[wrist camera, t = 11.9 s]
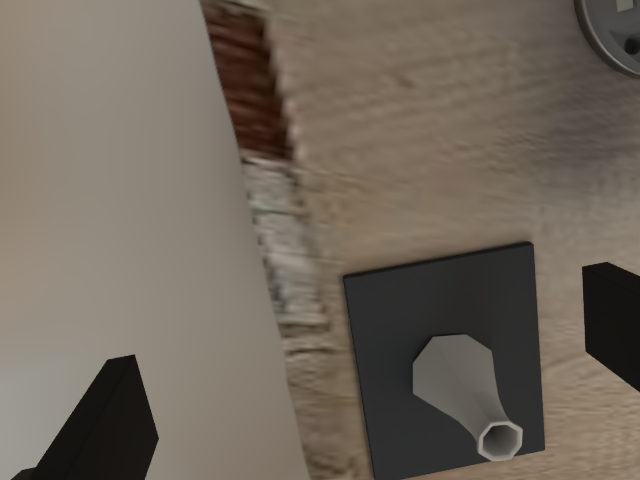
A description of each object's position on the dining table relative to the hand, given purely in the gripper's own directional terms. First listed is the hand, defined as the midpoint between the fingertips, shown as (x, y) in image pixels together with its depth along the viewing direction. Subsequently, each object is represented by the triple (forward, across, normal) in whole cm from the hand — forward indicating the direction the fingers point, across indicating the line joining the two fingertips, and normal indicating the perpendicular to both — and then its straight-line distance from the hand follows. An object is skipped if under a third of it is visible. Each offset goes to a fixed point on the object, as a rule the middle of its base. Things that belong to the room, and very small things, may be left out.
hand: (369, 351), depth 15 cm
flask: (+26, +10, -17) cm, 32 cm away
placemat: (+27, +10, -17) cm, 33 cm away
